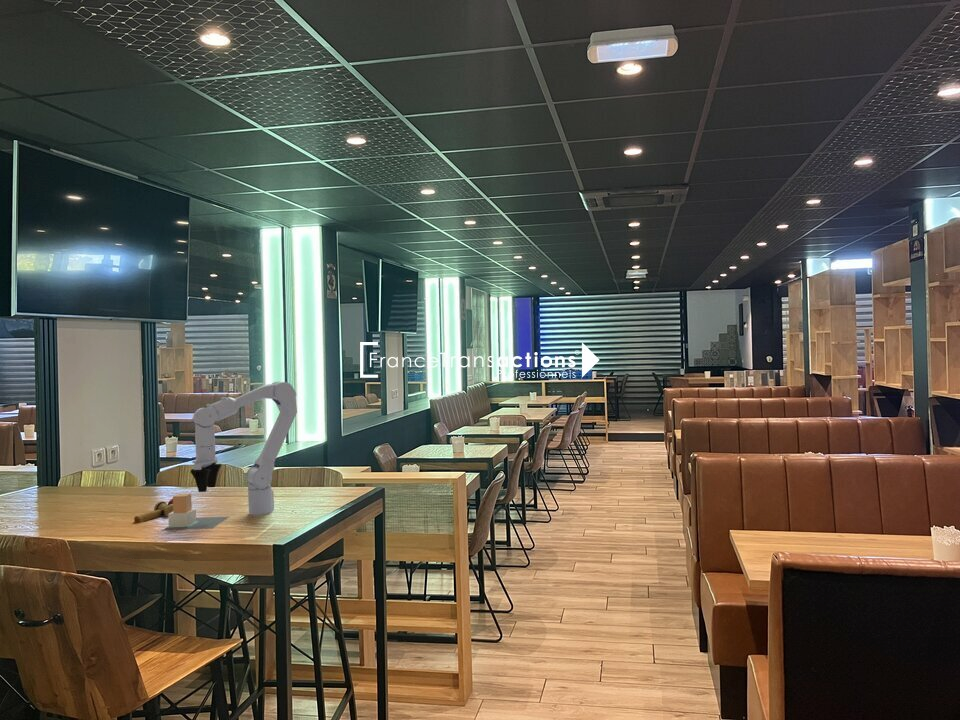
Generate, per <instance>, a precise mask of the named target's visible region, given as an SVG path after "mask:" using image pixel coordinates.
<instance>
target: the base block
mask: <svg viewBox="0 0 960 720" xmlns="http://www.w3.org/2000/svg"><path fill="white" fill-rule="evenodd" d="M167 518H168V526H169V527H184V526H190V525H192V524H193V523H195V522H196V518H197V509H196V508H192V510H190V511H189V512H187V513H173V512H171V513H169V514H168V517H167Z"/></svg>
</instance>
